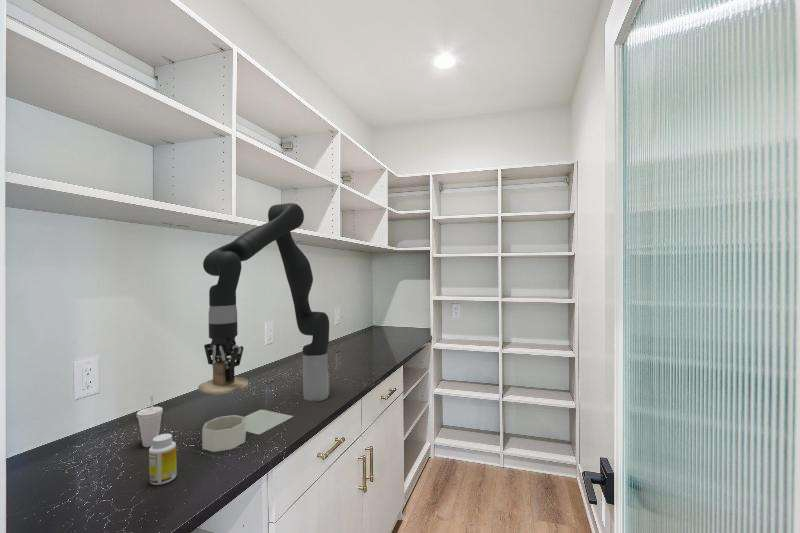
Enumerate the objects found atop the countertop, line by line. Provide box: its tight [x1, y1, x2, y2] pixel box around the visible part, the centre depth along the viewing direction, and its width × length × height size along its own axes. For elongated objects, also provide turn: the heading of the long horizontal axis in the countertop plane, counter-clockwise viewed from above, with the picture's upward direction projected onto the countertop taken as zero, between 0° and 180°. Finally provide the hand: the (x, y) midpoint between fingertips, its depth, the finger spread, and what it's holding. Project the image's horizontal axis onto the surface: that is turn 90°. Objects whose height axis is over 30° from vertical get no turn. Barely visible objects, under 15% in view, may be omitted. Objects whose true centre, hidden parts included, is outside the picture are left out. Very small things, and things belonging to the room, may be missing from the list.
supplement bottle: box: [148, 433, 178, 486], centre depth 91 cm, size 6×6×10 cm
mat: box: [244, 409, 294, 436], centre depth 123 cm, size 15×15×1 cm
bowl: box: [201, 414, 247, 453], centre depth 109 cm, size 11×11×6 cm
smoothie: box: [136, 394, 164, 448], centre depth 109 cm, size 6×6×14 cm
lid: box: [197, 360, 249, 395], centre depth 109 cm, size 13×13×7 cm
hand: (224, 380), depth 109 cm, fingers closed on lid, 4 cm apart
